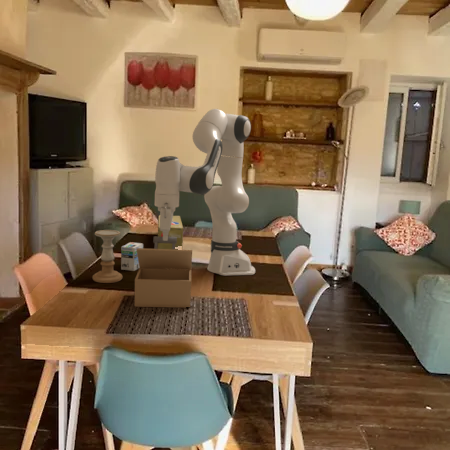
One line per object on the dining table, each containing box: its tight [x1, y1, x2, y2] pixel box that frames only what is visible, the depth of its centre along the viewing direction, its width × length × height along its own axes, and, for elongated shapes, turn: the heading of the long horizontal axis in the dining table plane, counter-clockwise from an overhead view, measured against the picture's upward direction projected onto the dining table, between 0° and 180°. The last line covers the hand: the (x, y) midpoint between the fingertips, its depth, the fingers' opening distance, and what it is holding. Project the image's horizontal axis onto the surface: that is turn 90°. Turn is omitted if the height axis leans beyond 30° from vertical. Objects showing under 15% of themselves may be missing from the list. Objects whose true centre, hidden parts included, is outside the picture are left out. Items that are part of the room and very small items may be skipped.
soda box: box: [157, 214, 184, 249], centre depth 267 cm, size 40×14×13 cm, turn 8°
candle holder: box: [92, 229, 123, 284], centre depth 194 cm, size 12×12×20 cm
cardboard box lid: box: [137, 235, 193, 270], centre depth 175 cm, size 20×16×6 cm
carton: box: [134, 268, 192, 308], centre depth 174 cm, size 20×15×10 cm
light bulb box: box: [120, 241, 144, 272], centre depth 213 cm, size 11×7×11 cm, turn 169°
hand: (165, 238), depth 170 cm, fingers open, 4 cm apart
